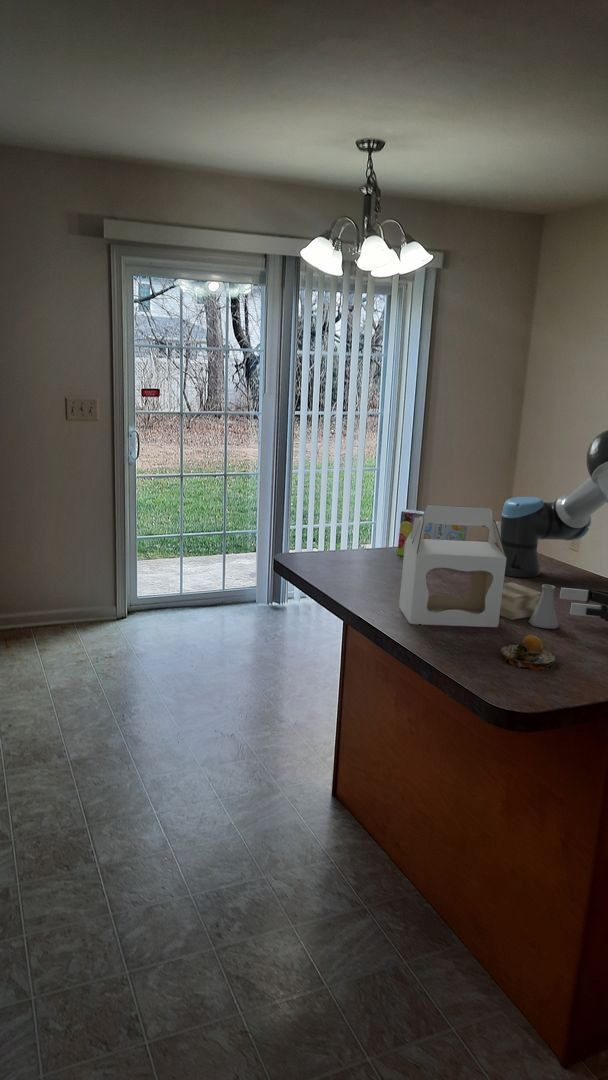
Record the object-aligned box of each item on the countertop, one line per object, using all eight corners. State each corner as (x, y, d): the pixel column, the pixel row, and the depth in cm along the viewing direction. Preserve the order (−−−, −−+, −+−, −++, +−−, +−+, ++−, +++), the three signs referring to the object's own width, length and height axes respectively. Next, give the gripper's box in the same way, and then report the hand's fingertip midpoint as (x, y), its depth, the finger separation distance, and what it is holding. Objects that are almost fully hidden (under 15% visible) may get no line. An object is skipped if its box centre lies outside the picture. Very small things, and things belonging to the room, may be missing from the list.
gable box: (482, 611, 200) (495, 504, 194) (499, 627, 187) (513, 513, 181) (397, 607, 198) (408, 499, 192) (408, 624, 185) (420, 509, 179)
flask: (560, 631, 187) (565, 591, 185) (529, 627, 189) (534, 588, 186) (556, 622, 194) (562, 584, 192) (527, 618, 196) (532, 580, 193)
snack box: (463, 562, 252) (468, 516, 249) (459, 565, 247) (464, 519, 244) (401, 552, 260) (405, 508, 257) (396, 555, 255) (400, 510, 252)
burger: (545, 652, 172) (549, 620, 171) (564, 673, 161) (569, 638, 159) (491, 650, 172) (495, 617, 170) (507, 670, 160) (511, 636, 159)
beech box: (509, 603, 207) (512, 582, 206) (539, 615, 199) (542, 593, 198) (481, 607, 202) (484, 585, 201) (511, 619, 193) (513, 596, 192)
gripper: (670, 641, 175) (573, 631, 178) (639, 609, 199) (554, 601, 202) (675, 609, 173) (577, 600, 176) (644, 581, 197) (558, 573, 200)
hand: (565, 600), depth 189 cm, fingers open, 13 cm apart
